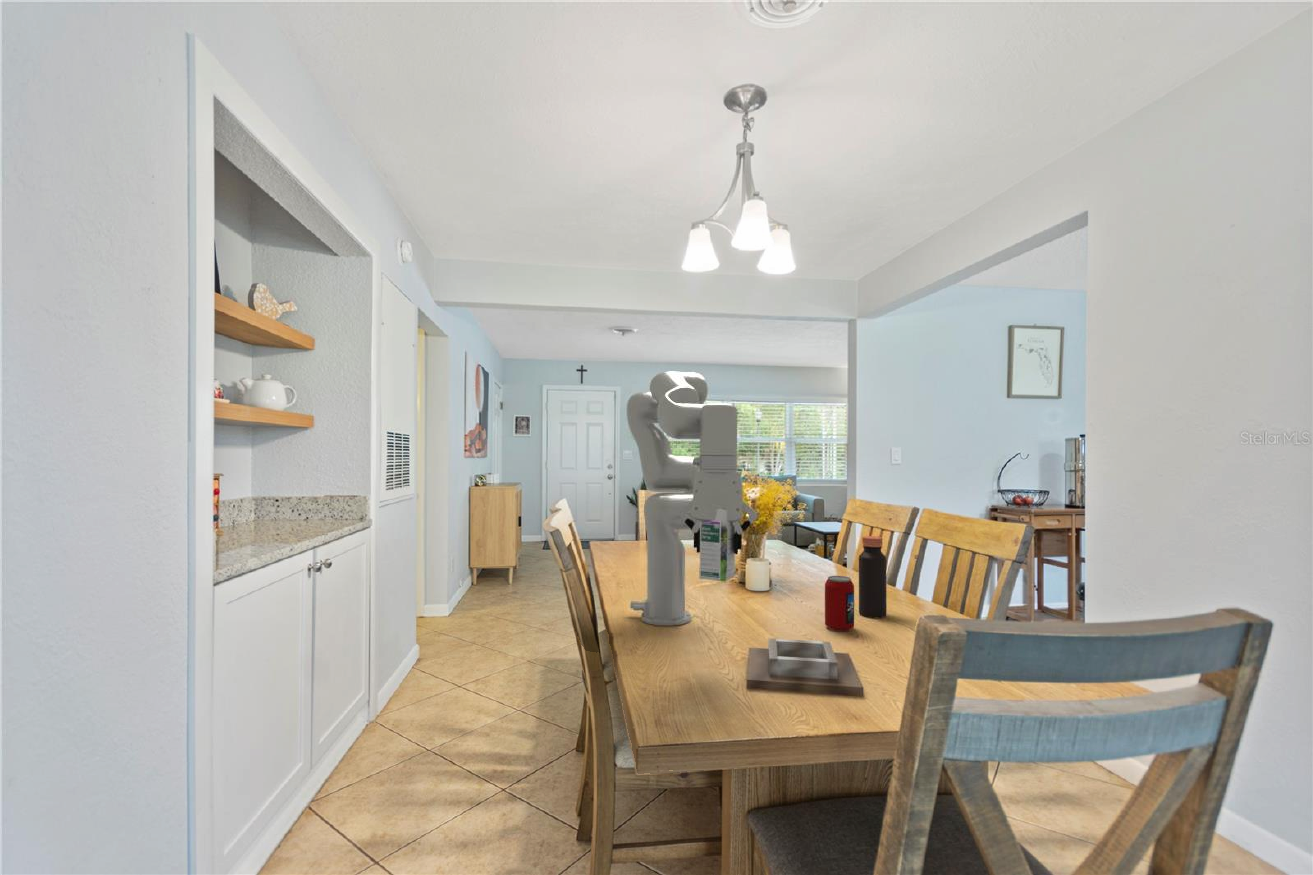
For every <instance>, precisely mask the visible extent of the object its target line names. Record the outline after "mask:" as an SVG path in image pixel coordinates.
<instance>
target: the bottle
mask: <svg viewBox="0 0 1313 875" xmlns="http://www.w3.org/2000/svg"><path fill="white" fill-rule="evenodd" d="M861 538H862V539H861V540H862V548H863V551H862V552H861V553H860V554H859V555H858V613H859V615H861V616H862V615H863V616H862V617H866V618H871V619H880V618H881V619H882V618H885V617H886V616H887V615H888V614H887V611H888V610H887V557H886V555H885V554H884V553H883V552H882V549H883V537H881V536H873V535H866V536H862V537H861Z"/></svg>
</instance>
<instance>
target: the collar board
mask: <svg viewBox="0 0 1313 875" xmlns="http://www.w3.org/2000/svg"><path fill="white" fill-rule="evenodd" d="M747 656H748V657H747V669H746V670H747V672H746V689H754V690H755V689H757V690H767V691H768V690H769V691H781V692H783V691H784V692H798V693H812V694H826V695H842V696H843V695H844V696H858V697H864V686H863V683H862V681H861V678H860V676H859V674H858V671H857V669H856V666H855V665H854V662H853V660H852V657H851V656H850V653H849V652H848V653H847V652H834V650H833V647H832V644H831V642H830V641H823V640H822V641H821V640H801V639H786V638H785V639H781V638H768V648H767V647H766V648H763V647H748V655H747Z"/></svg>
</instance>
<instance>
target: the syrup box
mask: <svg viewBox="0 0 1313 875" xmlns="http://www.w3.org/2000/svg"><path fill="white" fill-rule="evenodd" d="M716 511H717V514H716V519H715V520H712V521H700V552H699V571H698V572H699V573H698V574H699V580H710V581H716V582H717V581H718V582H724V583H725V582H727V581H729V580H730V579H732V578H734V577H735V574H736V573H735V568H736V567H735V566H736V563H735V562H736V559H735V558H736V556H735V555H736V554H734V534H735V531H736V530H735V527H734V525H733V523H732V522H728V521H727V509H718V510H716Z"/></svg>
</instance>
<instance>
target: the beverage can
mask: <svg viewBox="0 0 1313 875" xmlns="http://www.w3.org/2000/svg"><path fill="white" fill-rule="evenodd" d="M824 625H825V626H826V627H828V628H829V629H830V630H832V631H835V632H849V631H850V630H852V629H854V628H855V585H854V583H853V581H852V578H851V577H848V576H843V575H829V576H827V579H826V581H825V583H824Z"/></svg>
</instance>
